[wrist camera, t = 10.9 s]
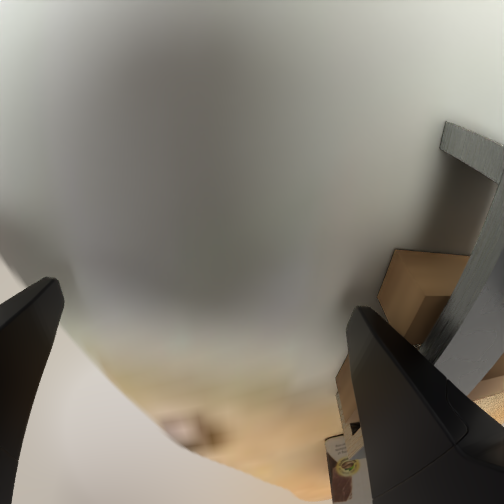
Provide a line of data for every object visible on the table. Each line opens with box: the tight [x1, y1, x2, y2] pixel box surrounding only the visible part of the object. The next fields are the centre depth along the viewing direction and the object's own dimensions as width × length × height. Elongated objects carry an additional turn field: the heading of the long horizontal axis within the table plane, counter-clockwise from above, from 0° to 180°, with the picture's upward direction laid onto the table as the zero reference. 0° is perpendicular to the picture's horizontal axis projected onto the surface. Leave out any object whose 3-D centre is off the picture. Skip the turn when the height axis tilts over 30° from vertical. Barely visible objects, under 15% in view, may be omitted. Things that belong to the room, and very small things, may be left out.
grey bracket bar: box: [336, 121, 504, 460], centre depth 8 cm, size 3×12×3 cm, turn 174°
